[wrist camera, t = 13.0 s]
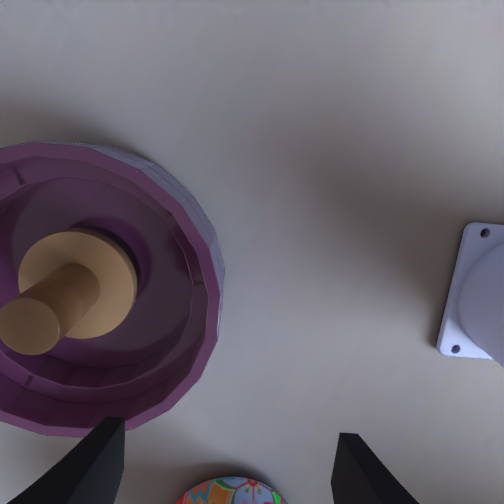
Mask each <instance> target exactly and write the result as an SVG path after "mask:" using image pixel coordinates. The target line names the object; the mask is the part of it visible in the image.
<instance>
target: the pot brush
mask: <svg viewBox="0 0 504 504" xmlns="http://www.w3.org/2000/svg"><path fill="white" fill-rule="evenodd" d="M140 279H141V273H140V266H139V263H138V260H137V258H136V255H135V254H134V252H133V250H132V249H131V248H130V246H129V245H128V244H127V243H126V242H125V241H124V240H123V239H121V238H120V237H119V236H117V235H116V234H114V233H112V232H110V231H108V230H105V229H102V228H98V227H89V226H86V227H78V228H71V229H64V230H60V231H57V232H54V233H52V234H50V235H48V236H46V237H44V238H42V239H40V240H39V241H37V242H36V243H35V244H34V245H33V246H32V247H31V248H30V249H29V250H28V251H27V253H26V254H25V256H24V258H23V260H22V262H21V265H20V268H19V274H18V285H19V291H20V294H19V295H18V296H16V297H15V298H13V299H12V300H10V301H9V302H7V303H6V304H5V305H4V306H3V307H2V308H1V309H0V337H1V339H2V340H3V342H4V343H5V344H6V345H7V346H9V347H10V348H11V349H13V350H15V351H16V352H19V353H22V354H26V355H38V354H42V353H45V352H47V351H49V350H51V349H52V348H53V347H54V346H55V345H56V344H57V343H58V342H59V341H60V340H61V339H62V338H63V337H64V336H66V337H70V338H78V339H85V338H93V337H98V336H101V335H104V334H106V333H108V332H110V331H111V330H113V329H114V328H116V327H117V326H118V325H119V324H120V323H121V322H122V321H123V320H124V319H125V317H126V316H127V314H128V313H129V311H130V310H131V308H132V306H133V304H134V302H135V299H136V295H137V292H138V289H139V286H140Z"/></svg>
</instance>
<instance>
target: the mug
mask: <svg viewBox="0 0 504 504" xmlns="http://www.w3.org/2000/svg"><path fill="white" fill-rule="evenodd" d="M176 504H288V503H287V502H286V501H285V500H284V498H283V497H282V496H281V495H280V494H278V493H277V492H276V491H275V490H273V489H272V488H270V487H269V486H267V485H265V484H263V483H261V482H258V481H256V480H252V479H248V478H243V477H221V478H216V479H211V480H208V481H205V482H203V483H201V484H198V485H197V486H195V487H193V488H192V489H190V490H189V491H187V492H186V493H185V494H184V495H183V496H182V497H181V498H180V499H179V500H178V501H177V502H176Z"/></svg>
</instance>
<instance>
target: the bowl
mask: <svg viewBox="0 0 504 504" xmlns="http://www.w3.org/2000/svg"><path fill="white" fill-rule="evenodd" d="M86 226H89V227H98V228H102V229H105V230H108V231H110V232H112V233H114V234H116V235H117V236H119V237H120V238H121V239H123V240H124V241H125V242H126V243H127V244H128V245H129V246H130V248H131V249H132V250H133V252H134V254H135V255H136V258H137V260H138V263H139V266H140V273H141V279H140V286H139V289H138V292H137V295H136V299H135V302H134V304H133V306H132V308H131V310H130V311H129V313H128V314H127V316H126V317H125V319H124V320H123V321H122V322H121V323H120V324H119V325H118V326H117V327H116V328H114V329H113V330H111V331H110V332H108V333H106V334H104V335H101V336H98V337H93V338H85V339H78V338H70V337H66V336H64V337H63V338H62V339H61V340H60V341H59V342H58V343H57V344H56V345H55V346H54V347H53V348H52V349H51V350H49V351H47V352H45V353H42V354H38V355H26V354H22V353H19V352H16V351H15V350H13V349H11V348H10V347H9V346H7V345H6V344H5V343H4V342H3V340H2V339H1V337H0V421H2V422H5V423H8V424H11V425H14V426H17V427H20V428H23V429H26V430H29V431H32V432H35V433H38V434H41V435H47V436H62V437H77V438H84V437H85V436H86V435H87V434H88V433H89V432H90V431H91V430H92V429H93V428H94V427H95V426H96V425H97V424H98V423H99V422H100V421H101V420H102V419H103V418H105V417H106V416H113V417H125V431H128V430H132V429H135V428H137V427H139V426H140V425H142V424H144V423H146V422H148V421H150V420H152V419H154V418H155V417H157V416H159V415H161V414H163V413H165V412H167V411H169V410H170V409H171V408H172V407H173V406H174V405H175V404H176V403H177V402H178V401H179V400H180V399H181V398H182V397H183V396H184V395H185V394H186V393H187V392H188V390H189V389H190V388H191V387H192V386H193V385H194V384H195V383H196V382H197V381H198V380H199V379H200V377H201V375H202V373H203V371H204V369H205V366H206V364H207V362H208V360H209V358H210V355H211V353H212V351H213V349H214V347H215V345H216V342H217V339H218V333H219V325H220V318H221V310H222V301H223V289H224V277H225V271H224V270H225V268H224V264H223V260H222V256H221V252H220V248H219V244H218V240H217V236H216V232H215V229H214V228H213V226H212V225H211V223H210V221H209V220H208V218H207V217H206V215H205V213H204V212H203V210H202V209H201V207H200V205H199V204H198V202H197V201H196V199H195V197H194V196H193V195H192V194H191V193H190V192H189V191H188V190H187V189H186V188H184V187H183V186H182V185H181V184H180V183H179V182H178V181H176V180H175V179H174V178H173V177H172V176H171V175H169V174H168V173H167V172H166V171H165V170H164V169H162V168H161V167H160V166H158V165H157V164H155V163H152V162H150V161H148V160H145V159H143V158H141V157H138V156H136V155H134V154H131V153H129V152H127V151H125V150H122V149H120V148H116V147H113V146H103V145H93V144H83V143H73V142H39V141H33V142H27V143H22V144H18V145H14V146H9V147H5V148H1V149H0V309H1V308H2V307H3V306H4V305H5V304H6V303H7V302H9V301H10V300H12V299H13V298H15V297H16V296H18V295H19V294H20V291H19V285H18V274H19V268H20V265H21V262H22V260H23V258H24V256H25V254H26V253H27V251H28V250H29V249H30V248H31V247H32V246H33V245H34V244H35V243H36V242H37V241H39V240H40V239H42V238H44V237H46V236H48V235H50V234H52V233H54V232H57V231H60V230H64V229H71V228H78V227H86Z"/></svg>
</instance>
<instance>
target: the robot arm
mask: <svg viewBox="0 0 504 504" xmlns="http://www.w3.org/2000/svg"><path fill="white" fill-rule="evenodd" d="M483 229H485V230H486V233H485V234H484V235H483V236H481V235H480V233H481V231H482V230H483ZM454 345H457V347H456V348H455V349H454V350H451V348H452V347H453V346H454ZM436 348H437V350H438V351H439V352H440V353H441V354H442V355H445V356H456V357H468V358H481V359H493V360H495V361H496V362H498V363H499V364H500V365H501V366H502V367H504V225H498V224H488V223H478V222H472V223H470V224H468V225H467V226H466V227H465V229H464V232H463V236H462V240H461V245H460V249H459V253H458V257H457V261H456V265H455V270H454V274H453V278H452V282H451V286H450V290H449V295H448V299H447V303H446V307H445V311H444V315H443V320H442V324H441V328H440V332H439V336H438V341H437V345H436ZM124 442H125V417H113V416H106V417H105V418H103V419H102V420H101V421H100V422H99V423H98V424H97V425H96V426H95V427H94V428H93V429H92V430H91V431H90V432H89V433H88V434H87V435H86V436H85V437H84V438H83V439H82V440H81V441H80V442H79V443H78V444H77V445H76V446H75V447H74V448H73V449H72V450H71V451H70V452H69V453H68V454H66V455H65V456H64V457H63V458H62V459H61V460H60V461H59V462H58V463H57V464H56V465H54V466H53V467H52V468H51V469H50V470H49V471H47V472H46V473H45V474H44V475H43V476H41V477H40V478H39V479H38V480H37V481H36V482H34V483H33V484H32V485H31V486H29V487H28V488H27V489H26V490H24V491H23V492H22V493H20V494H19V495H18V496H16V497H15V498H14V499H12V500H11V501H10V502H8V503H7V504H114V501H115V498H116V494H117V491H118V488H119V484H120V481H121V477H122V474H123V470H124ZM331 486H332V493H333V499H334V504H419V503H418V502H417V501H416V500H415V499H414V498H413V497H412V496H411V495H410V494H409V493H408V491H407V490H406V489H405V488H404V487H403V486H402V485H401V484H400V483H399V482H398V481H397V480H396V478H395V477H394V476H393V475H392V474H391V473H390V472H389V470H388V469H387V468H386V467H385V466H384V465H383V463H382V462H381V461H380V460H379V459H378V458H377V456H376V455H375V454H374V453H373V452H372V450H371V449H370V448H369V447H368V446H367V444H366V443H365V442H364V441H363V439H362V438H361V437H360V436H359V435H358V434H354V433H340V435H339V440H338V446H337V451H336V456H335V462H334V467H333V473H332V478H331Z"/></svg>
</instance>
